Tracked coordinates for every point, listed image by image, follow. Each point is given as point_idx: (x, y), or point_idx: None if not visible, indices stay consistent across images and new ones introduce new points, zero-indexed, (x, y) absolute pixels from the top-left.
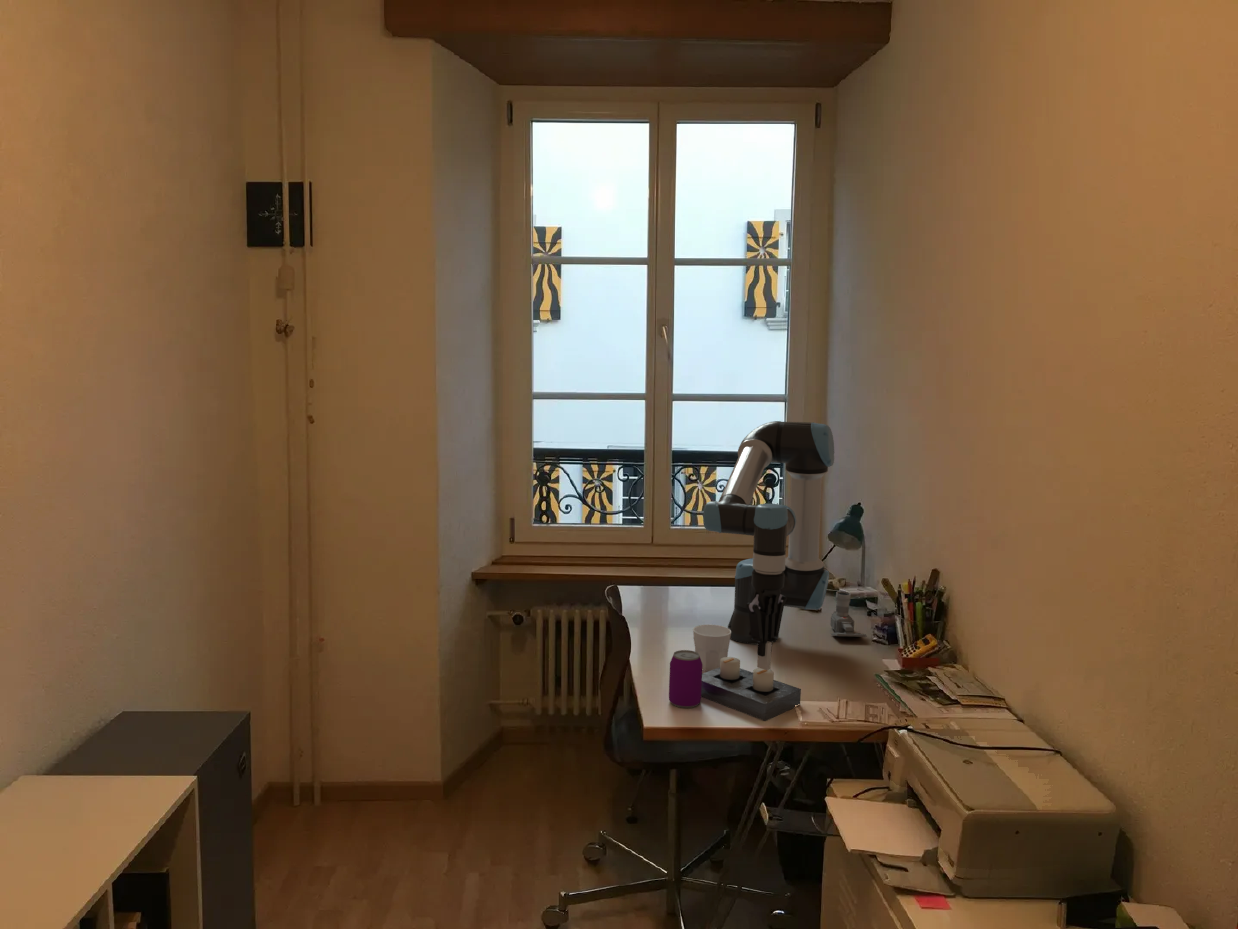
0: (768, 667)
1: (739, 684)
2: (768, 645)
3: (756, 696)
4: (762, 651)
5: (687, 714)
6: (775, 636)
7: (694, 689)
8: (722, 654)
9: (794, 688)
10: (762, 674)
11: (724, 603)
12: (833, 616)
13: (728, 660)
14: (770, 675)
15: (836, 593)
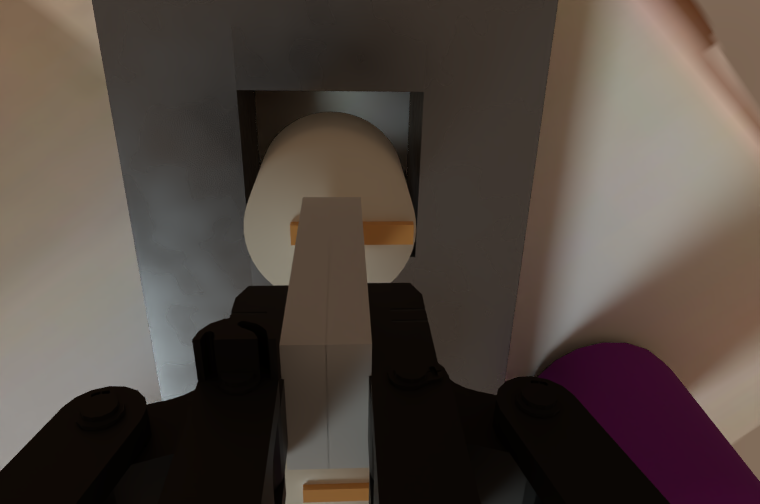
0: (331, 205)
1: None
2: (354, 325)
3: (476, 129)
4: (422, 315)
5: (700, 313)
6: (139, 403)
7: (674, 398)
8: None
9: (126, 29)
10: (394, 199)
11: None
12: None
13: (363, 491)
14: (348, 148)
15: None
